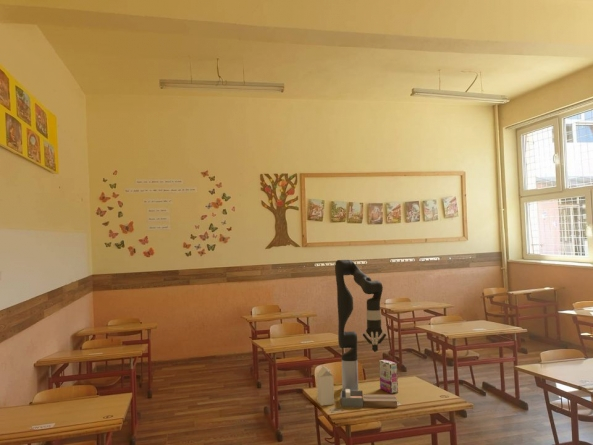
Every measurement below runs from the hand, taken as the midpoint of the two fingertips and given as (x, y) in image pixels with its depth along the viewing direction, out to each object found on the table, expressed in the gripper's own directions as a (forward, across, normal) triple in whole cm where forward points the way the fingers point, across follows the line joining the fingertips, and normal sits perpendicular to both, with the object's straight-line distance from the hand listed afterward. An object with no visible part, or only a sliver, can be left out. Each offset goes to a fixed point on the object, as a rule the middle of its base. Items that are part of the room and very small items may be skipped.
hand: (375, 351), depth 243 cm
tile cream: (+23, +14, 0) cm, 27 cm away
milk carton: (+27, +27, 0) cm, 38 cm away
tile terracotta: (+26, +11, +1) cm, 29 cm away
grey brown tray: (+27, -2, 0) cm, 27 cm away
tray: (+27, +13, 0) cm, 30 cm away
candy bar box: (+27, -8, -22) cm, 36 cm away
